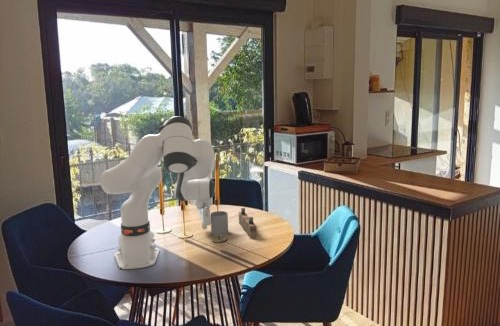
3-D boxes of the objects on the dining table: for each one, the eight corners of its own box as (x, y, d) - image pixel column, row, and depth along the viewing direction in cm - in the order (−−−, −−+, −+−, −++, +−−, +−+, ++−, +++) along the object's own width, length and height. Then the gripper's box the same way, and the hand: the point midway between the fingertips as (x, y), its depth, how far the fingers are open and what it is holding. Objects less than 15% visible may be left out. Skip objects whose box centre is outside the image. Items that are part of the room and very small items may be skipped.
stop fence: (256, 237, 190) (256, 219, 188) (250, 238, 189) (250, 220, 188) (244, 222, 213) (244, 206, 211) (238, 223, 212) (238, 206, 210)
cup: (231, 232, 199) (231, 212, 197) (221, 237, 192) (220, 217, 190) (218, 229, 203) (217, 210, 202) (207, 234, 197) (207, 214, 195)
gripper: (213, 206, 184) (214, 235, 186) (206, 195, 203) (207, 221, 205) (199, 207, 182) (201, 236, 184) (194, 196, 201) (195, 222, 204)
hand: (204, 228), depth 195 cm, fingers closed
